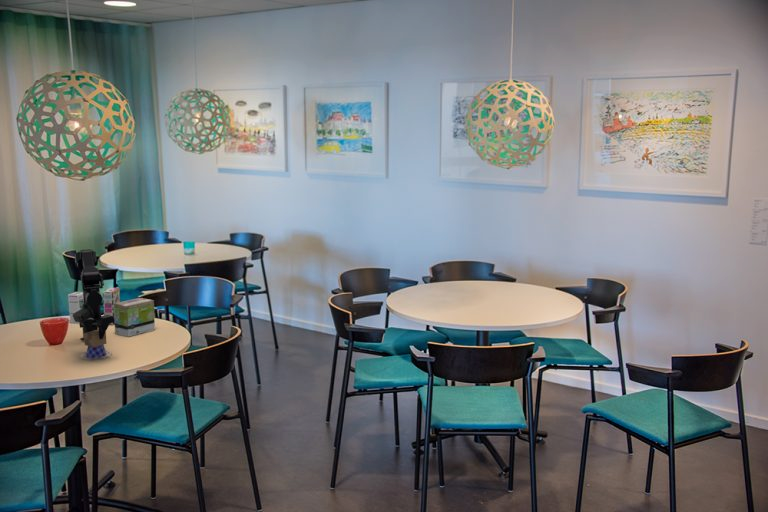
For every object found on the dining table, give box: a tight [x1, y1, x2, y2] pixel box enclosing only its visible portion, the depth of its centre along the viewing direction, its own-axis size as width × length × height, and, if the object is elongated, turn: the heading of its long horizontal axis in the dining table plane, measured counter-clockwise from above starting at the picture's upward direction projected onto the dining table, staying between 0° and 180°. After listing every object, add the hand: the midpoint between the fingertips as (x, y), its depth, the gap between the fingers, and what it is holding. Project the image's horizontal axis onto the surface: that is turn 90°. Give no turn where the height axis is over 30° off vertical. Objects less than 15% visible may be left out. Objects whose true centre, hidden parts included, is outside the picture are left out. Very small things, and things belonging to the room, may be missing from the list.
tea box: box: [114, 297, 156, 338], centre depth 317 cm, size 15×10×15 cm
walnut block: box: [83, 330, 107, 347], centre depth 283 cm, size 6×6×5 cm
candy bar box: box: [102, 287, 121, 326], centre depth 333 cm, size 11×5×16 cm, turn 5°
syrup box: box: [67, 291, 84, 324], centre depth 334 cm, size 6×6×14 cm
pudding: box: [80, 344, 113, 361], centre depth 284 cm, size 12×12×5 cm
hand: (95, 337), depth 283 cm, fingers open, 7 cm apart
